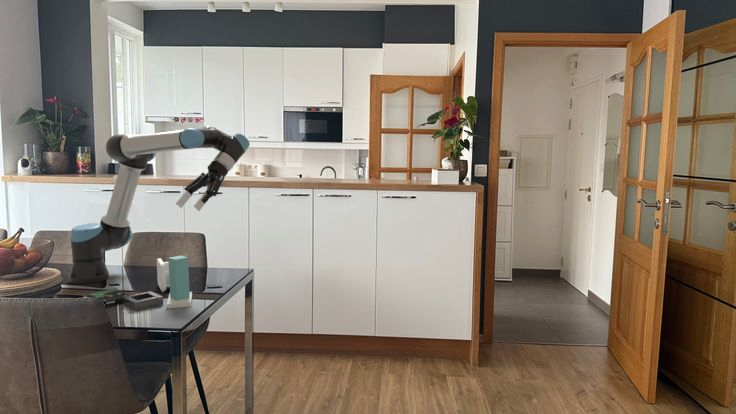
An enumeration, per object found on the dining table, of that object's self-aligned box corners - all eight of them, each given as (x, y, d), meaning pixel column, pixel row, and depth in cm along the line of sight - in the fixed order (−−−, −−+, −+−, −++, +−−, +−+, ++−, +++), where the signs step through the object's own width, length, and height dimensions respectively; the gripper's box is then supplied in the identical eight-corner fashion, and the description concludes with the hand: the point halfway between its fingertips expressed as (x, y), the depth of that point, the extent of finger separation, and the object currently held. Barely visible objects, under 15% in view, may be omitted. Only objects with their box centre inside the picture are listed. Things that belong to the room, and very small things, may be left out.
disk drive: (132, 303, 192) (116, 294, 202) (131, 295, 191) (115, 287, 202) (102, 309, 184) (87, 300, 194) (102, 301, 184) (86, 293, 194)
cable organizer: (157, 285, 214) (155, 257, 213) (184, 281, 219) (182, 254, 218) (161, 294, 201) (160, 264, 200) (190, 290, 206) (188, 261, 204)
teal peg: (170, 297, 191) (168, 257, 189) (183, 294, 194) (181, 255, 193) (176, 300, 187) (174, 259, 186) (189, 297, 191) (188, 257, 189)
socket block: (123, 305, 187) (122, 296, 187) (150, 299, 194) (150, 291, 194) (135, 311, 180) (134, 302, 180) (163, 304, 188) (162, 296, 187)
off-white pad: (169, 297, 197) (169, 293, 196) (192, 295, 199) (191, 291, 199) (167, 308, 183) (166, 304, 183) (191, 306, 186) (190, 302, 185)
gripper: (244, 173, 200) (211, 216, 191) (210, 171, 217) (178, 210, 208) (232, 160, 196) (197, 203, 187) (198, 159, 213) (164, 198, 204)
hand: (187, 207), depth 197 cm, fingers open, 13 cm apart
